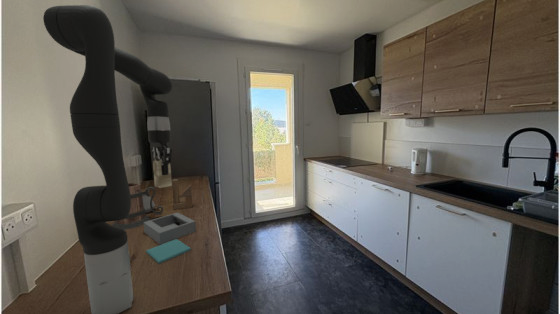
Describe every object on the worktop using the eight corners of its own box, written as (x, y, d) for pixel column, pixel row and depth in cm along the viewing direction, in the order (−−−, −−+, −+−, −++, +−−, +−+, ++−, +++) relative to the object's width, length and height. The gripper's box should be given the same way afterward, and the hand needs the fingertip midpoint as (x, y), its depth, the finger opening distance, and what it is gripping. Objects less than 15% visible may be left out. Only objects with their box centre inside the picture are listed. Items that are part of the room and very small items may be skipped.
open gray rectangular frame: (195, 231, 106) (195, 221, 106) (160, 244, 94) (159, 233, 94) (178, 221, 118) (177, 212, 118) (144, 232, 106) (143, 222, 106)
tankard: (107, 232, 107) (103, 191, 104) (114, 220, 122) (110, 183, 119) (163, 222, 117) (160, 184, 115) (163, 212, 132) (160, 178, 130)
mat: (190, 249, 90) (190, 248, 90) (158, 263, 81) (158, 261, 81) (176, 240, 98) (176, 238, 98) (146, 252, 89) (146, 250, 89)
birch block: (171, 185, 88) (170, 160, 87) (159, 188, 84) (157, 161, 83) (166, 184, 91) (165, 159, 90) (154, 186, 87) (152, 160, 86)
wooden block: (192, 207, 140) (190, 179, 138) (173, 210, 136) (171, 180, 134) (192, 205, 143) (190, 177, 141) (173, 208, 139) (171, 179, 137)
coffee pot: (154, 213, 131) (151, 188, 129) (131, 216, 127) (128, 190, 125) (159, 202, 151) (158, 180, 149) (140, 204, 147) (137, 182, 145)
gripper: (141, 130, 87) (144, 173, 89) (156, 128, 78) (159, 177, 80) (161, 130, 93) (164, 171, 95) (177, 129, 84) (180, 174, 85)
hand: (162, 174), depth 87 cm, fingers closed on birch block, 4 cm apart
